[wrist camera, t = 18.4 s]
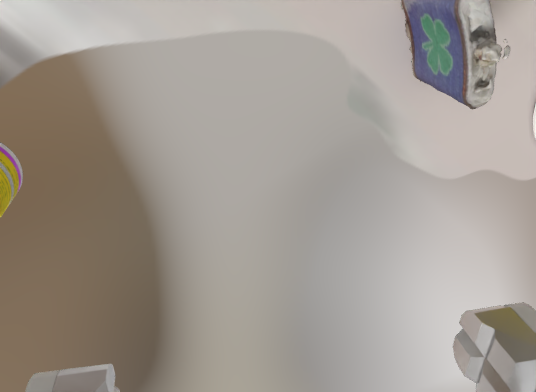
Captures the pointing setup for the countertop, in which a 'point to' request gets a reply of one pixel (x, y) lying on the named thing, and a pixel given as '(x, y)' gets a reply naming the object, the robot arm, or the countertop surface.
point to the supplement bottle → (8, 177)
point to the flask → (454, 47)
